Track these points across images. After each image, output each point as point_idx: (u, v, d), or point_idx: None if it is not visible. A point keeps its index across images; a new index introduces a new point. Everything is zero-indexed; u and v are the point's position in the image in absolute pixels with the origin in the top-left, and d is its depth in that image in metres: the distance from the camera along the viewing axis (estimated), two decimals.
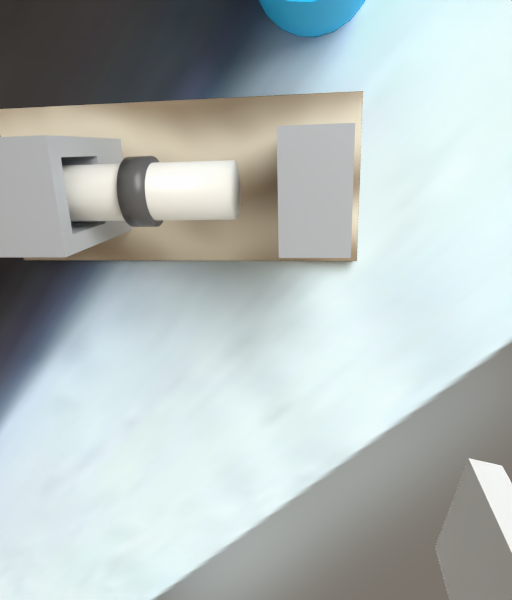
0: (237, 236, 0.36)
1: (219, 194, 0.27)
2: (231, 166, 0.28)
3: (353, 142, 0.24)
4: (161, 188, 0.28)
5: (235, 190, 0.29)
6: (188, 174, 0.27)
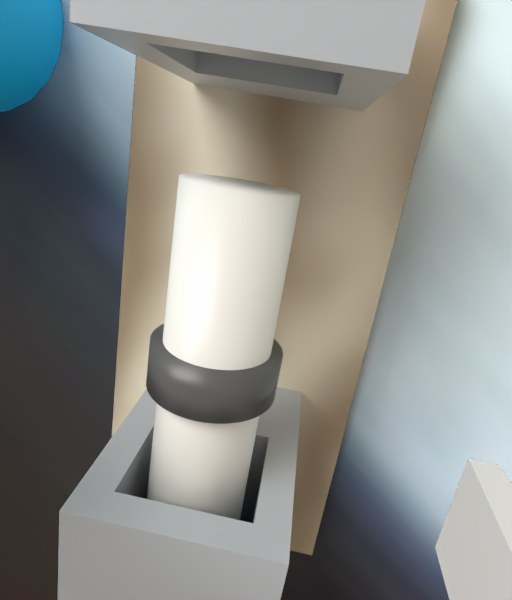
0: (352, 218, 0.20)
1: (229, 215, 0.12)
2: (184, 178, 0.13)
3: None
4: (197, 333, 0.13)
5: (240, 184, 0.14)
6: (182, 270, 0.13)
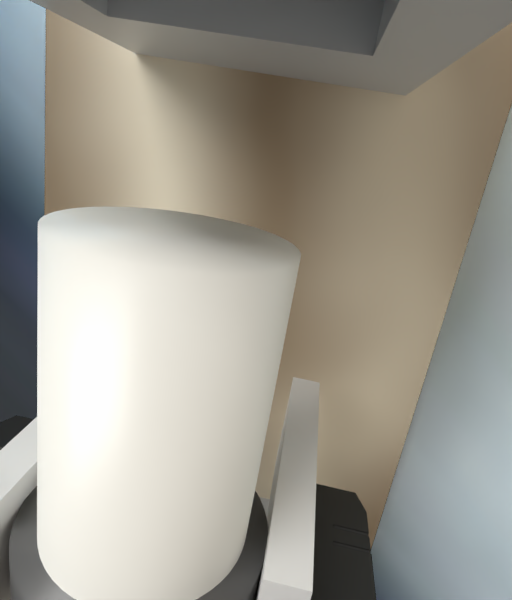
0: (385, 264, 0.13)
1: (129, 318, 0.05)
2: (47, 224, 0.06)
3: None
4: (82, 548, 0.06)
5: (177, 233, 0.07)
6: (45, 419, 0.06)
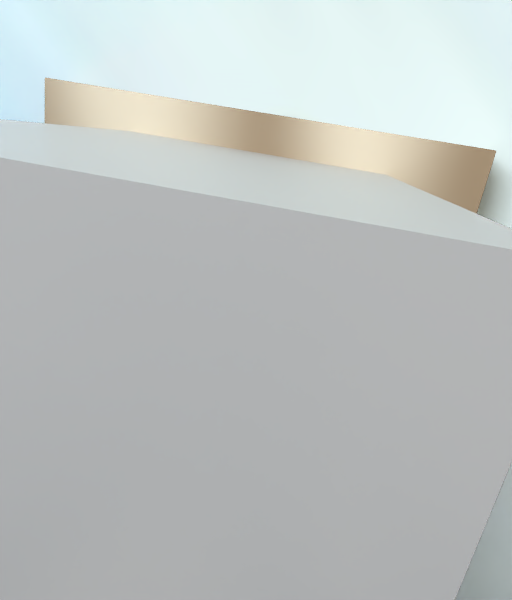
0: None
1: None
2: None
3: None
4: None
5: None
6: None
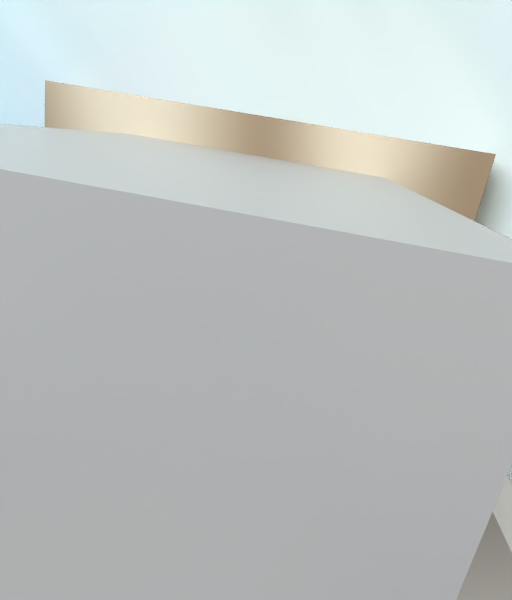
0: None
1: None
2: None
3: None
4: None
5: None
6: None
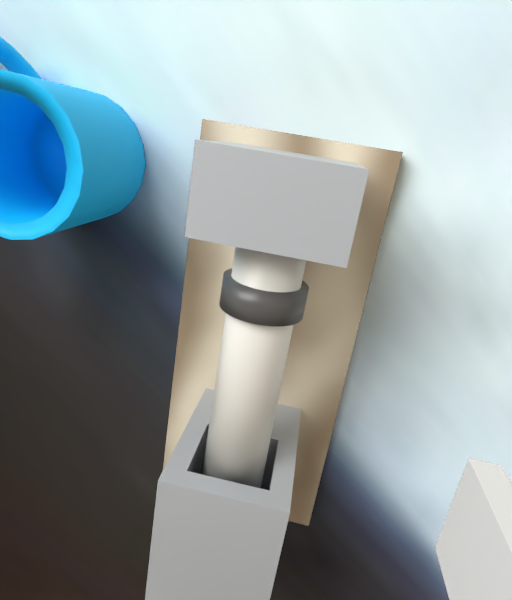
0: (335, 295, 0.30)
1: None
2: None
3: (217, 145, 0.18)
4: (257, 267, 0.22)
5: None
6: None
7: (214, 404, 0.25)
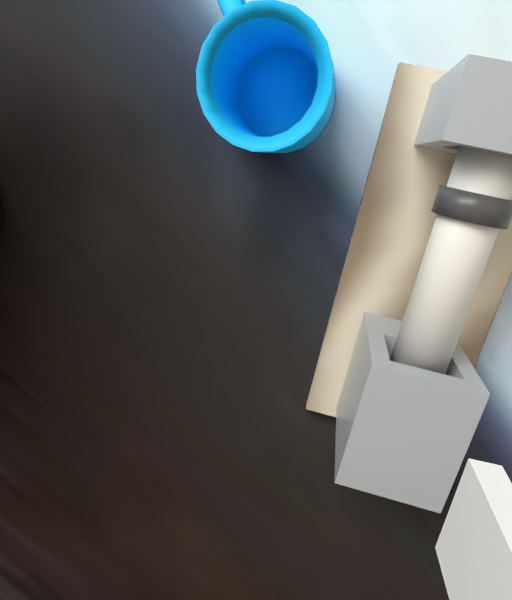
0: None
1: None
2: None
3: (488, 59, 0.22)
4: (486, 175, 0.25)
5: None
6: None
7: (415, 304, 0.29)
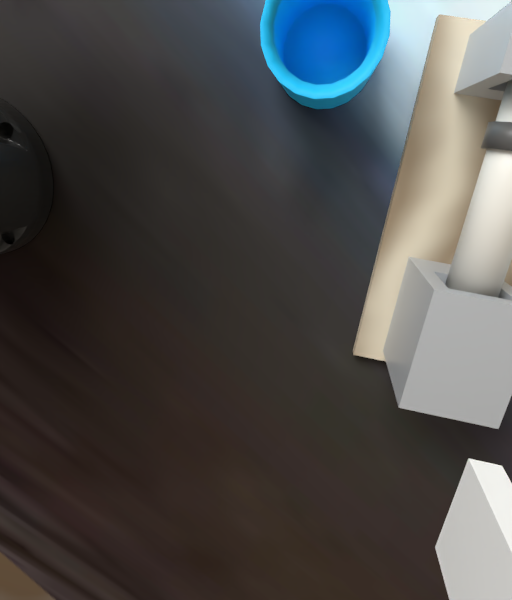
0: None
1: None
2: None
3: None
4: None
5: None
6: None
7: (469, 235, 0.31)
